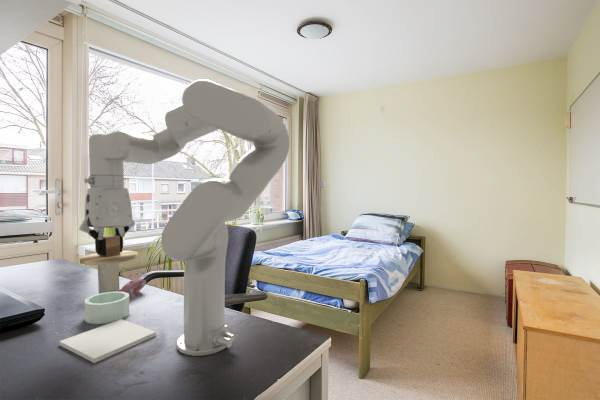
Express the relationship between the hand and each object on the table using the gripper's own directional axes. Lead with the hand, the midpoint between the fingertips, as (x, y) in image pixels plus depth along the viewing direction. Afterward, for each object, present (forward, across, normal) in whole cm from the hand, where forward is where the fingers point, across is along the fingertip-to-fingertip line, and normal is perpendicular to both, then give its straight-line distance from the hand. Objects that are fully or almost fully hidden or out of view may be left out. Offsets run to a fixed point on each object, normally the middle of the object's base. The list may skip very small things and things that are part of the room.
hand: (109, 252), depth 84 cm
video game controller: (+21, +18, +22) cm, 35 cm away
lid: (+2, 0, 0) cm, 2 cm away
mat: (+21, -3, -5) cm, 22 cm away
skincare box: (+20, +15, +30) cm, 39 cm away
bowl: (+20, +4, +10) cm, 23 cm away
